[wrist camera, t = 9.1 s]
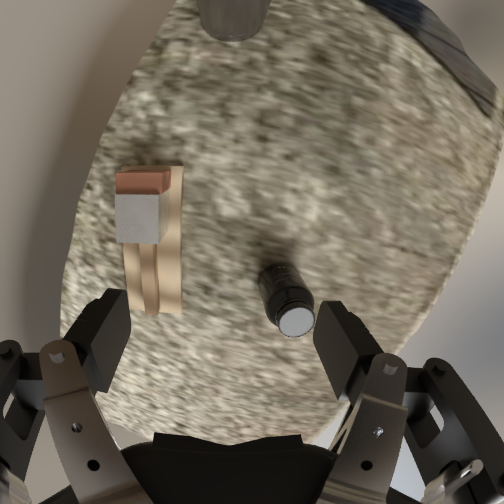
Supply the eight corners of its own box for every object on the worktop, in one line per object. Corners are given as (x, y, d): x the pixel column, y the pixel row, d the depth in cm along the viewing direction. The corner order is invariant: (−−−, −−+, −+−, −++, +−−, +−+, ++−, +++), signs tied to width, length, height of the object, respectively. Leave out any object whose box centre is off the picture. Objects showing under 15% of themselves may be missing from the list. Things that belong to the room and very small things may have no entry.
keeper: (130, 187, 34) (114, 194, 29) (168, 188, 35) (158, 194, 29) (131, 228, 36) (116, 242, 31) (168, 230, 37) (158, 244, 32)
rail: (124, 165, 35) (105, 169, 28) (184, 165, 36) (175, 168, 29) (132, 304, 43) (120, 328, 36) (182, 308, 44) (177, 333, 37)
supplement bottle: (296, 298, 45) (317, 342, 34) (256, 299, 45) (267, 346, 33) (301, 261, 43) (327, 299, 32) (259, 260, 42) (271, 300, 31)
